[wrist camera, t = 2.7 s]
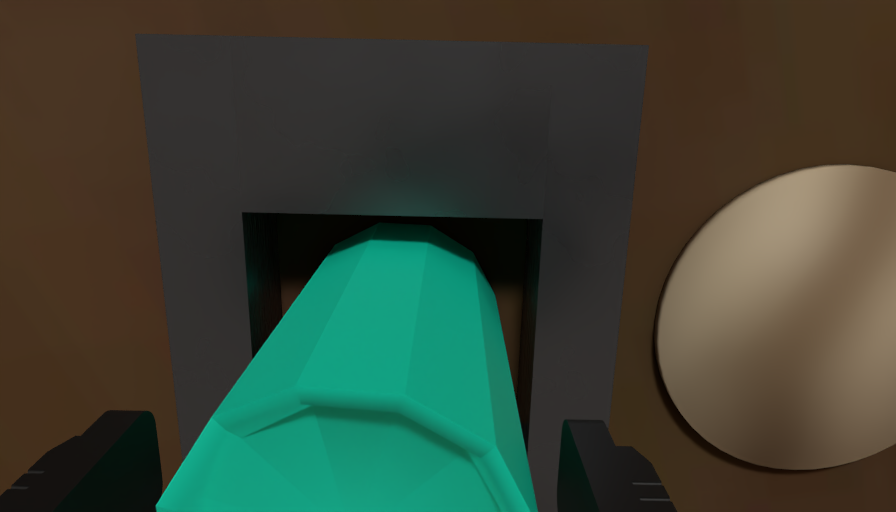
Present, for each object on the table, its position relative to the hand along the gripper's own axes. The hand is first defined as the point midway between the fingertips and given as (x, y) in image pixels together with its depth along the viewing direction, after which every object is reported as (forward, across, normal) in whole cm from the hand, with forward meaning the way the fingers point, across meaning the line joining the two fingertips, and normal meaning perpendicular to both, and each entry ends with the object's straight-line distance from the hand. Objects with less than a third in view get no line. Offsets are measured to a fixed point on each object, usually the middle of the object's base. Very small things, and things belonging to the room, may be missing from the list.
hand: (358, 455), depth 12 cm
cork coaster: (+8, -13, 0) cm, 15 cm away
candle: (+8, 0, 0) cm, 8 cm away
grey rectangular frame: (+8, 0, 0) cm, 8 cm away
